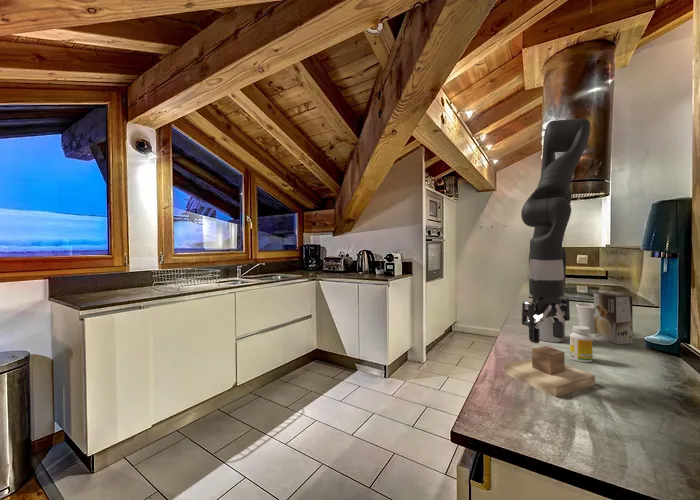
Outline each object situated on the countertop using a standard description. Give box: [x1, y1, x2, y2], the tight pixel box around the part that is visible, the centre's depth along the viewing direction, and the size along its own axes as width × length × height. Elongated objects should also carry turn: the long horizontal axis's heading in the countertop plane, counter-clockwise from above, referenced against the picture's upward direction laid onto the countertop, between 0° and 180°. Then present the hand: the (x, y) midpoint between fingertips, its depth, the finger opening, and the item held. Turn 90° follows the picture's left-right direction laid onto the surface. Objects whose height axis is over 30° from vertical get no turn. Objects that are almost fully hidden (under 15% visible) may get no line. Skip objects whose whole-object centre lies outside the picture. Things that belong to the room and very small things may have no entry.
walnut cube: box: [531, 345, 566, 375], centre depth 80 cm, size 5×5×5 cm
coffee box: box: [593, 291, 634, 345], centre depth 108 cm, size 9×6×16 cm
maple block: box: [504, 358, 596, 398], centre depth 80 cm, size 14×14×3 cm
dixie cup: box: [575, 302, 595, 334], centre depth 119 cm, size 8×8×10 cm
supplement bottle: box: [569, 325, 593, 363], centre depth 92 cm, size 5×5×10 cm
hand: (546, 340), depth 80 cm, fingers open, 8 cm apart
